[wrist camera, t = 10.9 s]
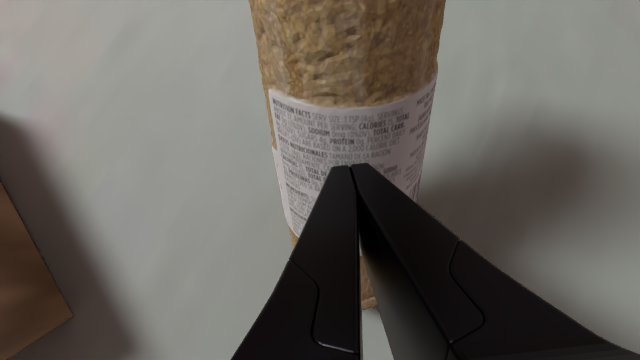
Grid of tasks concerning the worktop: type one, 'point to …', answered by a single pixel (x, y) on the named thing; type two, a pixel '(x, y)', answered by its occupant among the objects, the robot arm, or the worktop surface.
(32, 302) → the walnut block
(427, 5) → the sprinkles bottle
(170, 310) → the worktop surface
